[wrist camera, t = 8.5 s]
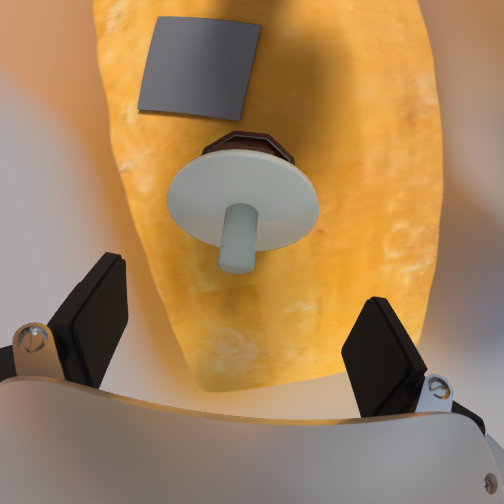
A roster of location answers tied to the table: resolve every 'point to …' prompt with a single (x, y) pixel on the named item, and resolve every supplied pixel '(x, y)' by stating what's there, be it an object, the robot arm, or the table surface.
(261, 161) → the lid
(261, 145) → the ice cream bowl
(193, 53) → the mat
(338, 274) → the table surface
